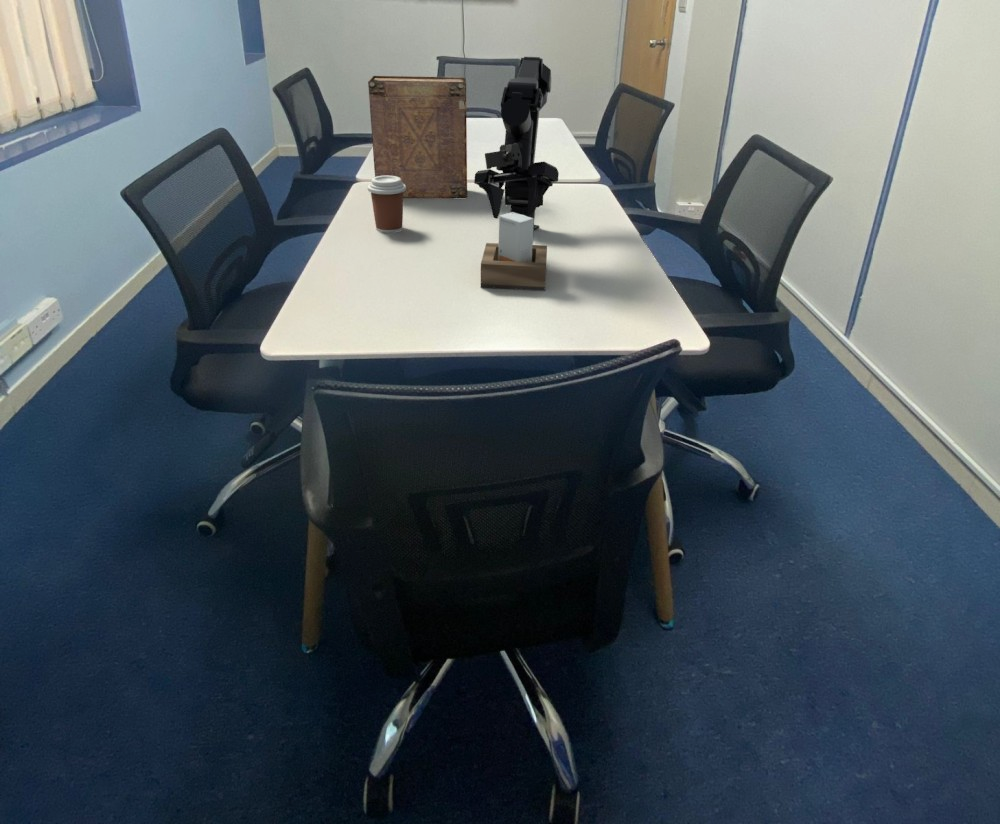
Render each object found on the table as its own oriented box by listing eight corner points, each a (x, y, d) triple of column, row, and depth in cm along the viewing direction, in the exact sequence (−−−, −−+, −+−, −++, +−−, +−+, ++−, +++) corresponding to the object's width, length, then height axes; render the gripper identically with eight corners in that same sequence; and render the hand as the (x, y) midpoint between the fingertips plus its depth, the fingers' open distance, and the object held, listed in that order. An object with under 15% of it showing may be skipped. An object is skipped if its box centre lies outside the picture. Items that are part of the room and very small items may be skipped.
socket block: (486, 265, 156) (486, 242, 154) (545, 268, 156) (547, 245, 153) (480, 287, 145) (480, 263, 143) (544, 290, 145) (546, 266, 142)
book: (466, 190, 209) (466, 77, 194) (467, 198, 202) (467, 81, 186) (378, 189, 208) (371, 75, 192) (375, 198, 200) (367, 80, 184)
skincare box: (496, 272, 151) (498, 215, 145) (511, 267, 153) (512, 211, 147) (518, 280, 147) (520, 222, 141) (532, 274, 150) (534, 217, 144)
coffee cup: (365, 225, 178) (361, 176, 172) (400, 221, 182) (397, 172, 176) (377, 236, 172) (374, 185, 165) (413, 231, 175) (411, 181, 169)
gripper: (460, 137, 153) (455, 211, 154) (532, 124, 141) (525, 204, 142) (493, 152, 162) (487, 222, 162) (562, 141, 150) (556, 216, 151)
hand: (512, 216), depth 154 cm, fingers open, 9 cm apart
